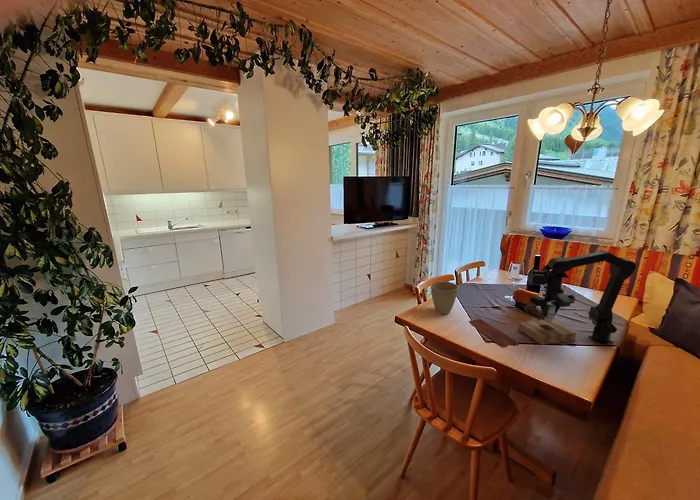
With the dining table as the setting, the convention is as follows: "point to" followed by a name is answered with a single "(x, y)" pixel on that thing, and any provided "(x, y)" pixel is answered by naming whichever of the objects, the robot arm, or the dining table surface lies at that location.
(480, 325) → the wooden tablet
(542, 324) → the board
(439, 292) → the plant pot
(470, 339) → the dining table surface
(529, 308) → the bolt
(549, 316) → the peg
